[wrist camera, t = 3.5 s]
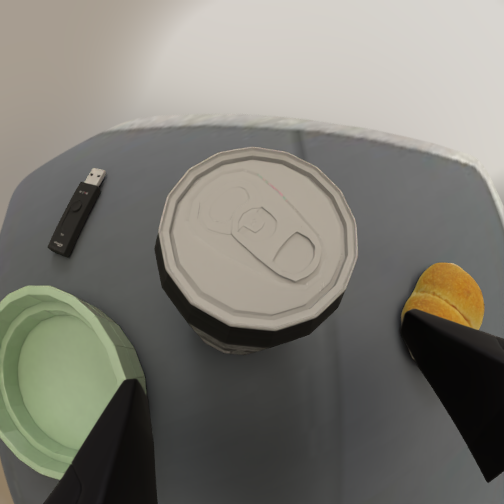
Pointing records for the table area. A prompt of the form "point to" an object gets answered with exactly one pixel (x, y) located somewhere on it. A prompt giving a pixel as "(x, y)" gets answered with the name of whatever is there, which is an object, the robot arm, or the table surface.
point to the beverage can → (255, 248)
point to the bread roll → (448, 295)
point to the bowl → (57, 374)
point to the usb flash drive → (76, 213)
